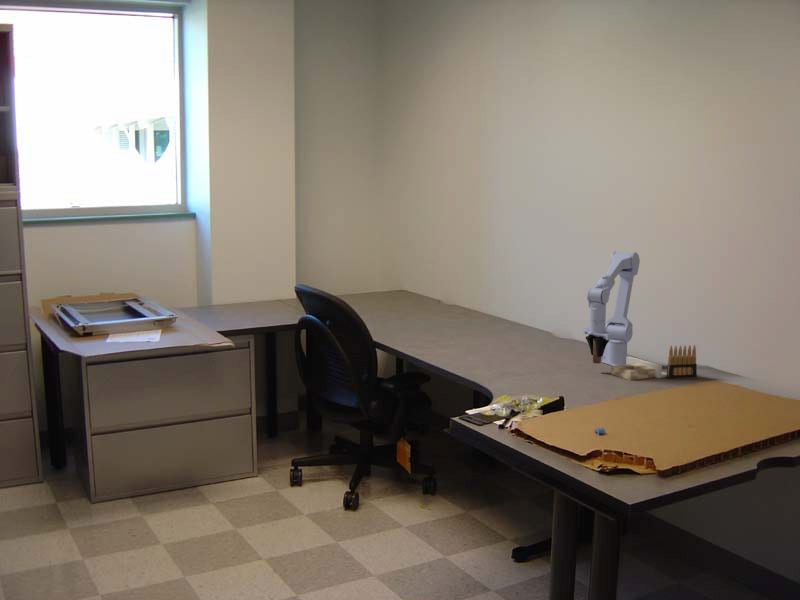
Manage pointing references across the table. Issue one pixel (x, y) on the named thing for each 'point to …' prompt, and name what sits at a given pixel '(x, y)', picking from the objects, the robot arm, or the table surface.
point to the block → (633, 371)
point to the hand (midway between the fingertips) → (597, 355)
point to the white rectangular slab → (648, 364)
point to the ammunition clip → (682, 363)
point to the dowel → (595, 354)
